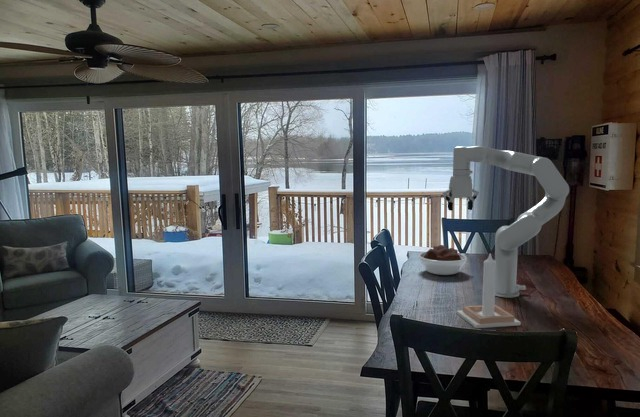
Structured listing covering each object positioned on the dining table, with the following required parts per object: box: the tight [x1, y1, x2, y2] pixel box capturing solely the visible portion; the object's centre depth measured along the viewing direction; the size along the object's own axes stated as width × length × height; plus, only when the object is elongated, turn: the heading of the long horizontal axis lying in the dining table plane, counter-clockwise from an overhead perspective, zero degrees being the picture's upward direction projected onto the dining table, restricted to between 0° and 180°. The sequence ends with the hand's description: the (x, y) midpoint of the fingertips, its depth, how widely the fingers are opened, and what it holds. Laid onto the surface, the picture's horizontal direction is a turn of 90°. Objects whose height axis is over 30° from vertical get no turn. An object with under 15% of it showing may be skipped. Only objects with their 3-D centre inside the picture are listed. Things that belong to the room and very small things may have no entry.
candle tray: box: [456, 304, 522, 329], centre depth 177 cm, size 18×16×3 cm
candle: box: [478, 252, 498, 317], centre depth 175 cm, size 7×7×25 cm
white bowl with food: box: [418, 244, 468, 276], centre depth 245 cm, size 25×25×15 cm
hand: (460, 210), depth 211 cm, fingers open, 9 cm apart
